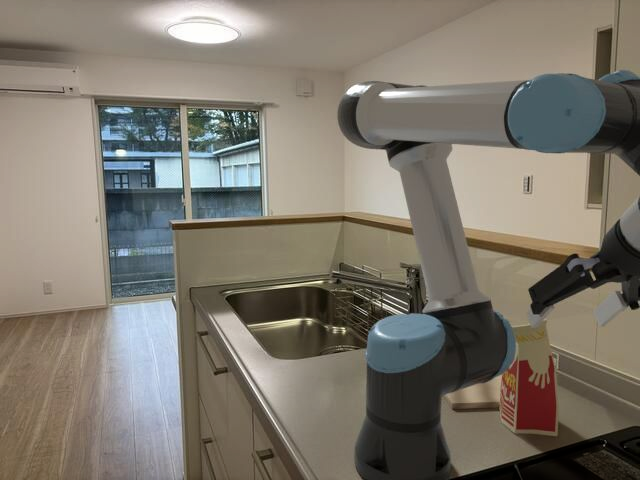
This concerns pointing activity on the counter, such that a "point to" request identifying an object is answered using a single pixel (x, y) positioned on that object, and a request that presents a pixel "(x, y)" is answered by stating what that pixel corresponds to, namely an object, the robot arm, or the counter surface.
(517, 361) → the milk carton
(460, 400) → the board
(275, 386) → the counter surface
